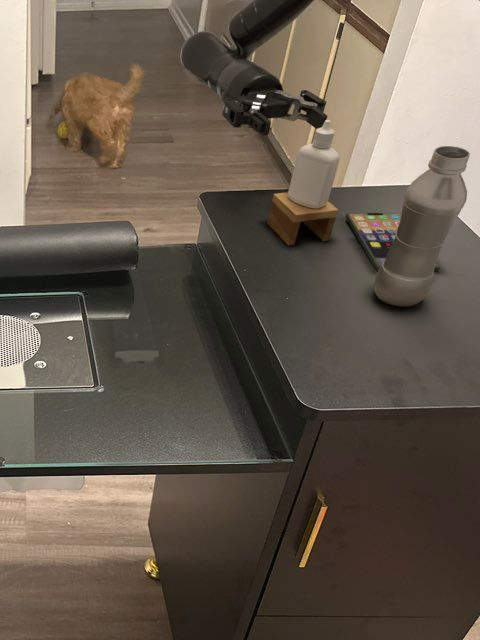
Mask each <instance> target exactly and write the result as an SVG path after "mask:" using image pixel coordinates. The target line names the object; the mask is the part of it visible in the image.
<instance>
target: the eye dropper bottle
mask: <svg viewBox="0 0 480 640" xmlns="http://www.w3.org/2000/svg"><path fill="white" fill-rule="evenodd" d="M331 122H332V121H331V120H330V119H327V120H325V122H324V124H323V126H322V127H321V128H318V129H316V128H315V132H314V135H313V140H312V142H311V143H308V144H305V145H303V146H302V147H300V148H299V149H298V152H297V155H296V159H295V162H294V167H293V171H292V174H291V179H290V181H289V182H290V183H289V186H288V190H287V192H288V198H289V199H290V200H292V201H293V202H295V203H297V204H299V205H302V206H305V207H309V208H314V209H318V208H321V207H323V206H325V205H326V204H327V203H328V202H329V199H330V195H331V192H332V188H333V185H334V183H335V178H336V174H337V170H338V168H339V164H340V157H341V156H340V155H339V153H338V152H337V151H336V150H335V149H334V148H333V147H332V144H333V140H334V137H335V133H336V131H335V130H334V129H332V128H331Z"/></svg>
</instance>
